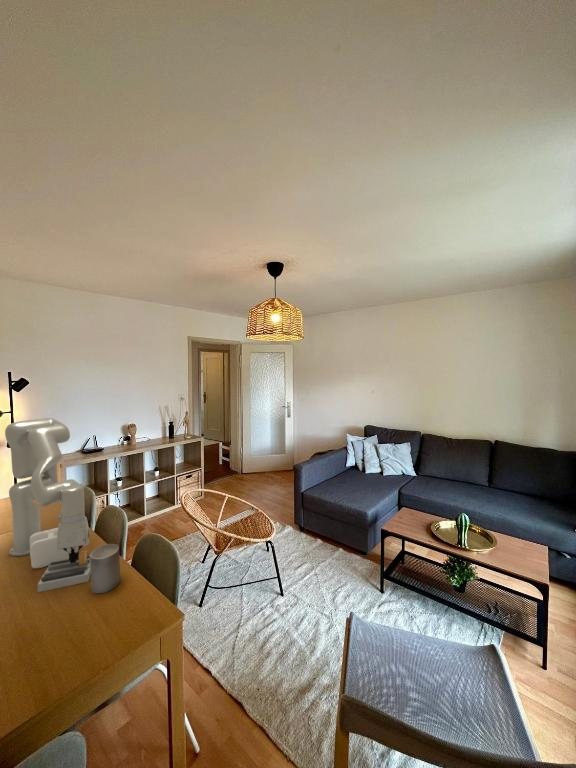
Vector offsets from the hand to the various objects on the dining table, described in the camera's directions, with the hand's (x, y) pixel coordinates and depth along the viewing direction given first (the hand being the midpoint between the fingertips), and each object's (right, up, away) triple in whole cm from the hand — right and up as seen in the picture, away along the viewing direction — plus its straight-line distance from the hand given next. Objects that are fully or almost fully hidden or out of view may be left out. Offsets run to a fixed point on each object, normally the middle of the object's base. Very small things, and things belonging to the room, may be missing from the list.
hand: (73, 560), depth 122 cm
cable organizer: (-17, -6, +11) cm, 21 cm away
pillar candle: (+15, -7, -5) cm, 18 cm away
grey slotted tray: (-2, -6, 0) cm, 7 cm away
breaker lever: (+3, -3, +1) cm, 4 cm away
